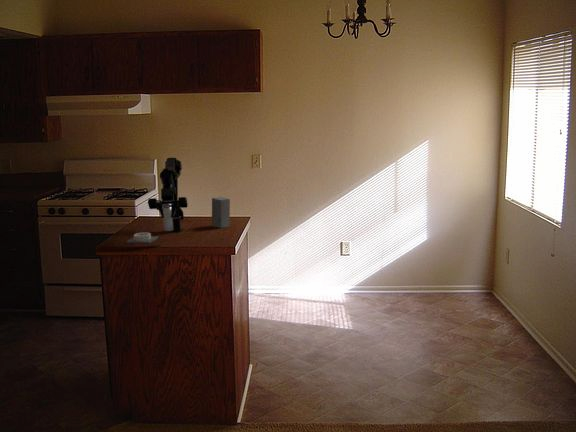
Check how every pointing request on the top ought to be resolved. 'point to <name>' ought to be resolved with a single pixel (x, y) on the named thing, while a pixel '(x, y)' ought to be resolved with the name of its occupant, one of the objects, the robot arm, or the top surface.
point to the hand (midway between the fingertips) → (167, 217)
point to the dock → (142, 238)
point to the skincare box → (220, 212)
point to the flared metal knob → (167, 216)
